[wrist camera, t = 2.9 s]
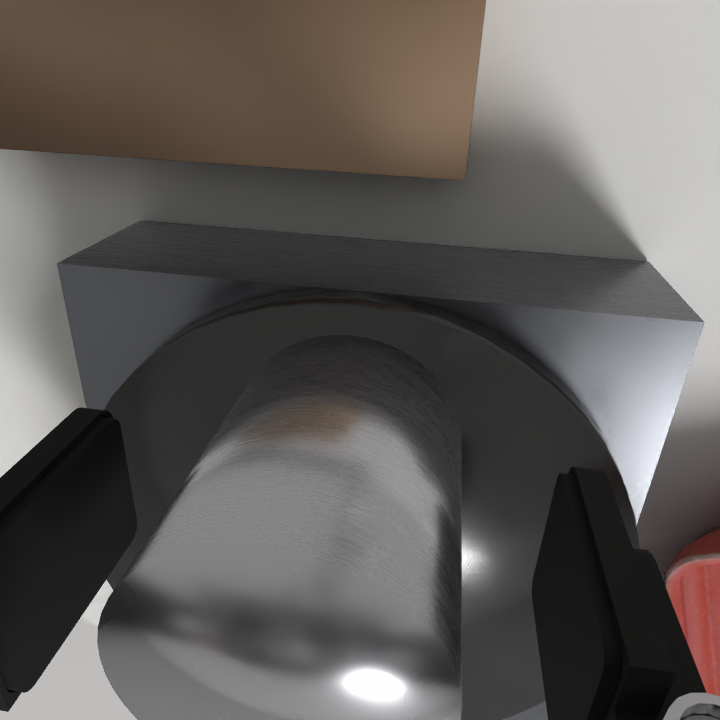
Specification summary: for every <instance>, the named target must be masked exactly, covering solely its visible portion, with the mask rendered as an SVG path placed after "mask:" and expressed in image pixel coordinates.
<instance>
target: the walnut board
mask: <svg viewBox="0 0 720 720" xmlns="http://www.w3.org/2000/svg"><path fill="white" fill-rule="evenodd" d="M485 5H486V0H0V149H12V150H26V151H41V152H56V153H70V154H85V155H100V156H114V157H129V158H144V159H158V160H173V161H188V162H202V163H217V164H232V165H246V166H261V167H276V168H290V169H305V170H320V171H334V172H349V173H364V174H378V175H393V176H408V177H422V178H437V179H452V180H465V175H466V166H467V158H468V149H469V141H470V132H471V124H472V115H473V107H474V98H475V90H476V81H477V73H478V64H479V56H480V47H481V39H482V30H483V22H484V13H485Z"/></svg>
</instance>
